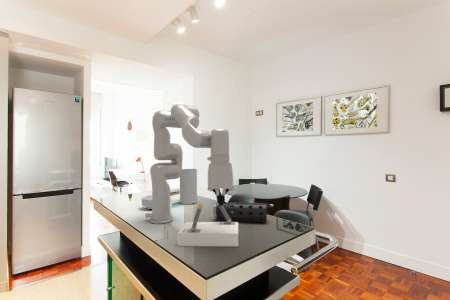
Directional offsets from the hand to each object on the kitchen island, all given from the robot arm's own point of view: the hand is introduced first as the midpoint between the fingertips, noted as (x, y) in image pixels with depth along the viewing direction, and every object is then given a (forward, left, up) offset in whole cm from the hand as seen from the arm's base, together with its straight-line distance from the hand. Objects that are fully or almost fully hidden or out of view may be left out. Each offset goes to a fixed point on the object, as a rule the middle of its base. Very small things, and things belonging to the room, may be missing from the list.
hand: (221, 205), depth 98 cm
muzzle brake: (+8, +33, -16) cm, 38 cm away
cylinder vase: (-30, +81, -16) cm, 88 cm away
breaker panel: (-5, +5, -16) cm, 17 cm away
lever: (+3, +11, -9) cm, 15 cm away
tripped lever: (-11, 0, -9) cm, 15 cm away
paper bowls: (-50, +63, -16) cm, 82 cm away
